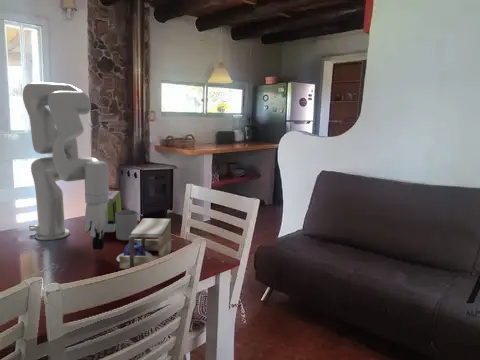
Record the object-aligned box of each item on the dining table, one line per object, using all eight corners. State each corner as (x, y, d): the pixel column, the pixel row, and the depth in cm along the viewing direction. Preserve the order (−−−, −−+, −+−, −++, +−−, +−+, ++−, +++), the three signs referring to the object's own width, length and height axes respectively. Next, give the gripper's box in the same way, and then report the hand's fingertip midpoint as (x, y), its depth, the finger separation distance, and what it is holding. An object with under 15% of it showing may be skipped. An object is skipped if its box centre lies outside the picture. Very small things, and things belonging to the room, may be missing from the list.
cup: (140, 233, 160) (140, 210, 158) (133, 240, 152) (132, 216, 150) (121, 232, 160) (120, 209, 159) (112, 239, 152) (111, 215, 151)
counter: (119, 268, 125) (118, 233, 123) (133, 249, 143) (132, 217, 140) (162, 269, 126) (162, 234, 123) (171, 249, 143) (170, 218, 141)
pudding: (158, 260, 133) (157, 246, 132) (124, 269, 126) (123, 253, 125) (143, 250, 143) (143, 236, 142) (111, 257, 135) (110, 243, 134)
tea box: (99, 222, 175) (98, 190, 172) (122, 222, 175) (121, 190, 173) (89, 232, 160) (88, 198, 157) (114, 232, 161) (113, 198, 158)
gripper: (93, 191, 137) (95, 240, 141) (77, 203, 123) (79, 257, 127) (115, 192, 137) (115, 241, 141) (100, 204, 123) (102, 257, 127)
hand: (98, 248), depth 134 cm, fingers closed
